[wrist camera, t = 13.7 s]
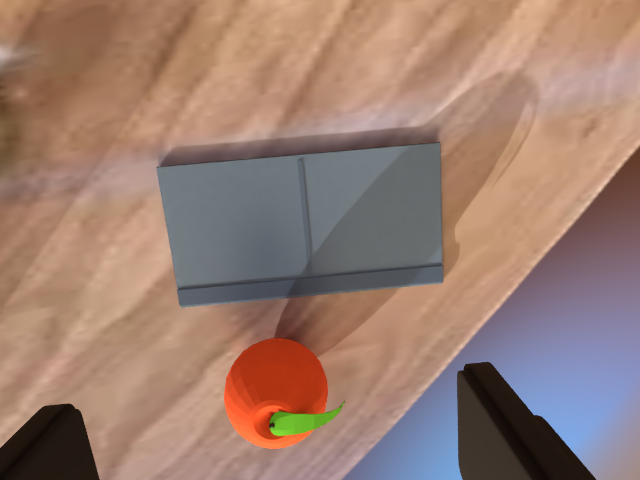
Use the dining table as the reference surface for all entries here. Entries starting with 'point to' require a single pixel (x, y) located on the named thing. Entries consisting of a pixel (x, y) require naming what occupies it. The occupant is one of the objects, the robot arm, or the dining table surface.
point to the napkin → (304, 224)
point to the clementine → (277, 393)
